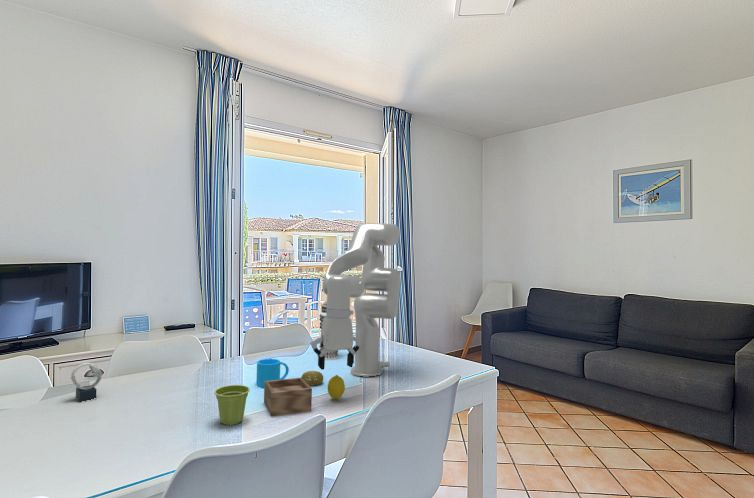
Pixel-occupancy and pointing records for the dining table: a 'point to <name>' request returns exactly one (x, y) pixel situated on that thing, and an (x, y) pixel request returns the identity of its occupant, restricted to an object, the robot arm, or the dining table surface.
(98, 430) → the dining table surface
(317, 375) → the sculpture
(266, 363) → the mug
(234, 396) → the plant pot
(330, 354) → the decorative candle
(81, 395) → the watch
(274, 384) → the walnut box
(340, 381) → the lemon
